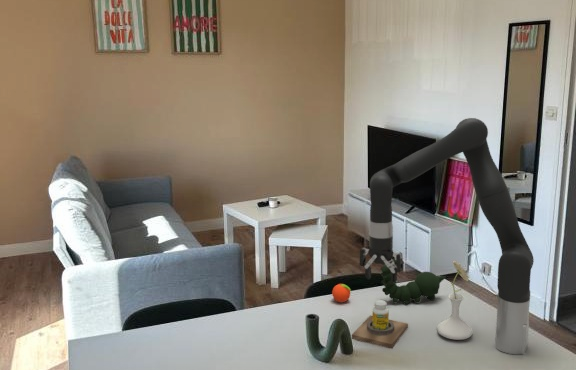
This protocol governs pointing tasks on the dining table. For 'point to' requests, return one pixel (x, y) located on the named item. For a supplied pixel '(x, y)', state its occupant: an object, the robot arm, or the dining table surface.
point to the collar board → (380, 339)
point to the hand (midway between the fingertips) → (380, 280)
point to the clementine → (341, 292)
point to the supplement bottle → (380, 315)
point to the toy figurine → (411, 286)
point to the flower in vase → (455, 313)
